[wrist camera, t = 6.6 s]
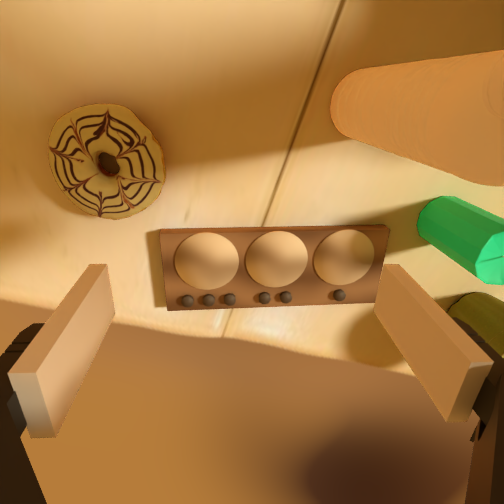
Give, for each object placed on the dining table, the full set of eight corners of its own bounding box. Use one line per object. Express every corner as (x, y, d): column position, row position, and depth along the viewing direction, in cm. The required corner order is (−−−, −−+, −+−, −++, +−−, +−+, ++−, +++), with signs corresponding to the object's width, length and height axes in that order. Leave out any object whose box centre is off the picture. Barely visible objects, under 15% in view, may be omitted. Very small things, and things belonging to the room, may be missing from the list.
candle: (473, 220, 42) (562, 266, 31) (430, 251, 43) (502, 306, 32) (451, 185, 40) (540, 221, 29) (407, 218, 41) (476, 265, 30)
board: (161, 228, 39) (158, 235, 37) (384, 224, 41) (392, 230, 39) (169, 303, 43) (166, 313, 41) (370, 296, 45) (377, 305, 43)
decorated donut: (124, 81, 32) (114, 80, 29) (187, 180, 37) (184, 189, 33) (35, 137, 34) (15, 143, 30) (106, 226, 38) (96, 239, 35)
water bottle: (404, 86, 35) (753, 82, 12) (369, 148, 37) (610, 240, 14) (329, 45, 32) (587, -56, 10) (298, 113, 35) (449, 158, 12)
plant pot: (438, 358, 51) (493, 425, 41) (419, 300, 46) (476, 359, 36) (516, 325, 50) (593, 385, 40) (505, 261, 45) (589, 312, 35)
